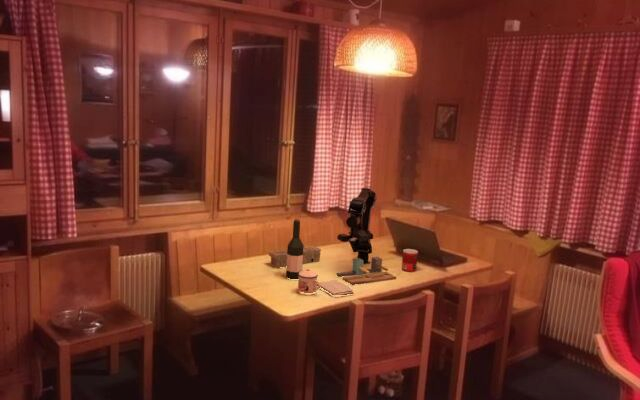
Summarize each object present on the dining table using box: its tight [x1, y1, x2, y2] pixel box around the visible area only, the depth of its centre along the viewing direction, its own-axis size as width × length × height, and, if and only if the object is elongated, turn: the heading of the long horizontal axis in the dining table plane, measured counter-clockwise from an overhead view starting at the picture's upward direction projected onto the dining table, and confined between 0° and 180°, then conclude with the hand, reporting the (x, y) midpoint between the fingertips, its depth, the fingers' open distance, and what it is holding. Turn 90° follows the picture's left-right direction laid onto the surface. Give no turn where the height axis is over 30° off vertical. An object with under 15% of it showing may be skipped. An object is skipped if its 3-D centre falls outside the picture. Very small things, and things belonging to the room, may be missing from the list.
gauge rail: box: [335, 256, 389, 278], centre depth 295 cm, size 12×27×8 cm, turn 119°
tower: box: [268, 245, 322, 269], centre depth 309 cm, size 8×8×29 cm
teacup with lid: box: [297, 267, 321, 293], centre depth 265 cm, size 12×9×12 cm
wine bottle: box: [285, 218, 305, 279], centre depth 284 cm, size 8×8×30 cm
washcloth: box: [317, 279, 354, 295], centre depth 272 cm, size 12×18×3 cm, turn 33°
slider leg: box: [351, 258, 370, 276], centre depth 294 cm, size 12×4×8 cm, turn 29°
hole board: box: [342, 271, 397, 286], centre depth 291 cm, size 9×27×1 cm, turn 119°
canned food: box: [401, 248, 419, 273], centre depth 309 cm, size 8×8×11 cm
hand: (354, 252), depth 296 cm, fingers closed
